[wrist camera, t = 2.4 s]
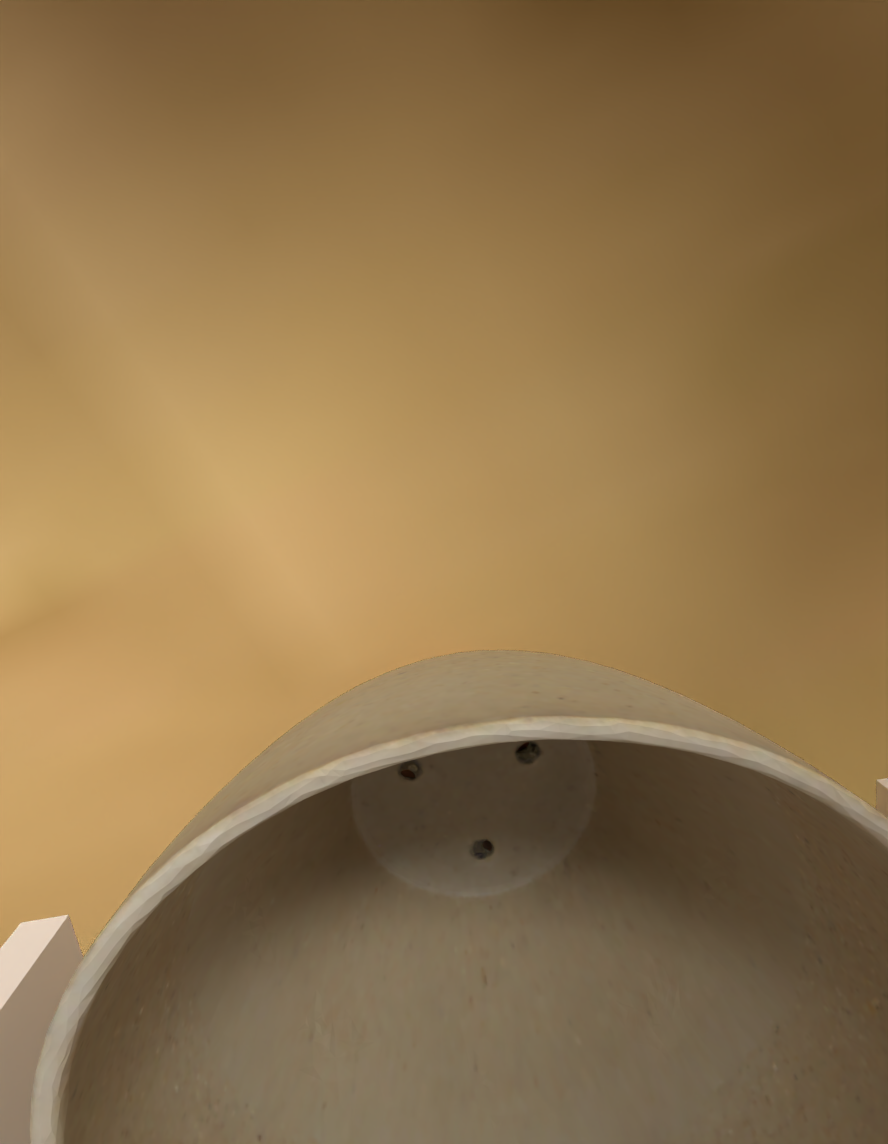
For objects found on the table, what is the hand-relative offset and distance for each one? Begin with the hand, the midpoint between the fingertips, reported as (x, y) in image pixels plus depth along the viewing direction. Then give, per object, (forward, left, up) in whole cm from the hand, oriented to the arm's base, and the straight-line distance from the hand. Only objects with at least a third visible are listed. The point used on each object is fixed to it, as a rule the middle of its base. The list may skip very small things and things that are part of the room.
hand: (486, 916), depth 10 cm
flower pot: (0, 0, -4) cm, 4 cm away
